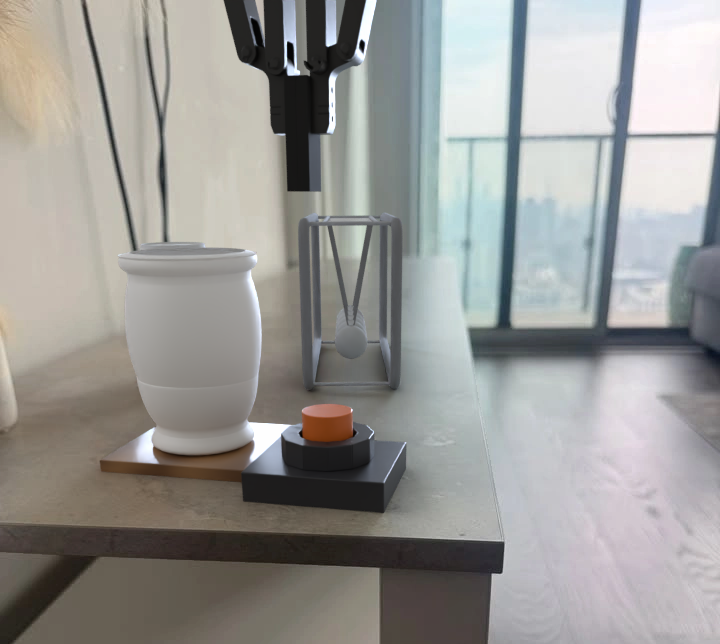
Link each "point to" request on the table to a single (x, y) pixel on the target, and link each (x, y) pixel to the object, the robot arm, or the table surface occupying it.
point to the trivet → (190, 457)
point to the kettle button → (327, 422)
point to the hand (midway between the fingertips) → (304, 191)
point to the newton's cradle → (350, 318)
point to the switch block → (326, 471)
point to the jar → (194, 344)
